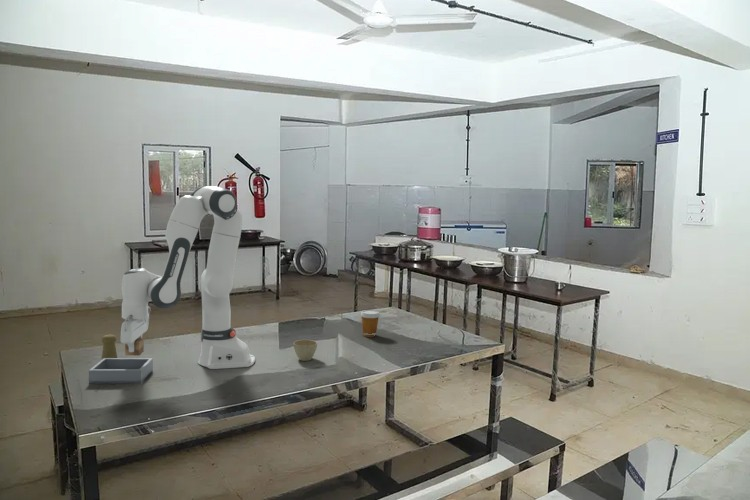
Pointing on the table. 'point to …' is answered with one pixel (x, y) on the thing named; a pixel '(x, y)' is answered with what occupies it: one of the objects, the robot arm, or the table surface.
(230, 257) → the robot arm
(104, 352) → the cork
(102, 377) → the tote
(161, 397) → the table surface
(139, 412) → the table surface
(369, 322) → the disposable coffee cup
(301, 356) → the flower pot
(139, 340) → the tan cube
